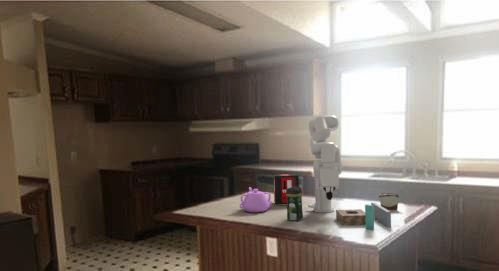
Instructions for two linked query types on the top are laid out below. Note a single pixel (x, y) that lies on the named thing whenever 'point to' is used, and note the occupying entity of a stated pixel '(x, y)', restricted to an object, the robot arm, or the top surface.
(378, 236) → the top surface
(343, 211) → the socket block
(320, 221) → the top surface
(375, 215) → the backstop wall
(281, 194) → the cleaning product box
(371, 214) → the dowel
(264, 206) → the teapot
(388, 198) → the food container
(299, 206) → the coffee jar
